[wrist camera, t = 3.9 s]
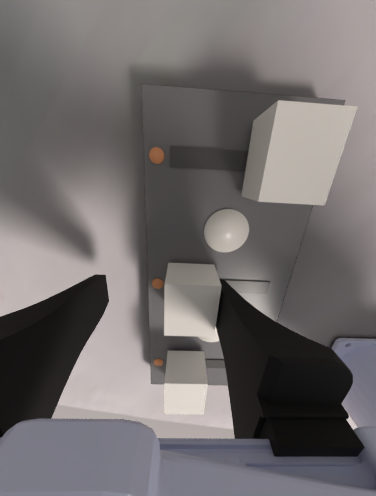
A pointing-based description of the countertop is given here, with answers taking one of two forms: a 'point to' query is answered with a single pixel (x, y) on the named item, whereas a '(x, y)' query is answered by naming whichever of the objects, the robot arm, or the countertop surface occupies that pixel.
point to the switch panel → (211, 208)
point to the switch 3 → (296, 152)
